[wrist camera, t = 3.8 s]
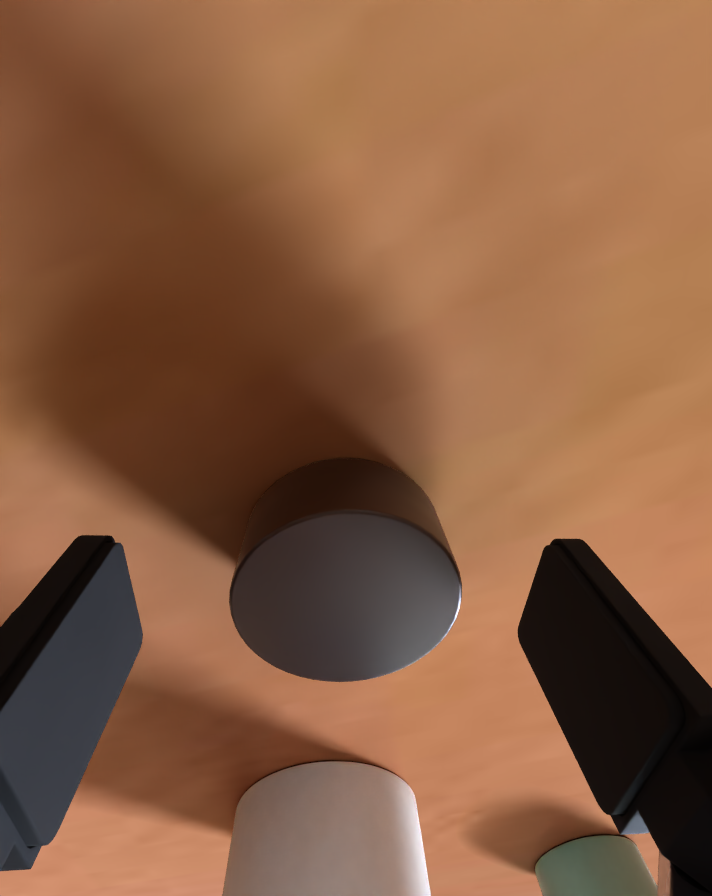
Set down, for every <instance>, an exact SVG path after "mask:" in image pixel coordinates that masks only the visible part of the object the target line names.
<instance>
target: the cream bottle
mask: <svg viewBox="0 0 712 896" xmlns="http://www.w3.org/2000/svg"><path fill="white" fill-rule="evenodd" d="M222 896H431V893H430V887H429V881H428V874H427V868H426V862H425V855H424V849H423V843H422V836H421V830H420V824H419V817H418V811H417V805H416V799H415V796H414V793H413V791H412V790H411V788H410V787H409V785H408V784H407V783H406V782H405V781H404V780H402V779H401V778H400V777H398V776H397V775H395V774H393V773H391V772H389V771H387V770H384V769H382V768H379V767H375V766H372V765H368V764H362V763H356V762H345V761H328V762H316V763H308V764H303V765H298V766H294V767H290V768H287V769H284V770H281V771H278V772H276V773H273V774H271V775H269V776H267V777H265V778H263V779H261V780H260V781H258V782H257V783H255V784H254V785H253V786H252V787H250V788H249V789H248V790H247V791H246V792H245V794H244V795H243V796H242V798H241V799H240V801H239V803H238V805H237V809H236V814H235V820H234V826H233V832H232V838H231V845H230V851H229V857H228V863H227V869H226V876H225V882H224V888H223V894H222Z"/></svg>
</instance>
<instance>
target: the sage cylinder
mask: <svg viewBox="0 0 712 896" xmlns="http://www.w3.org/2000/svg"><path fill="white" fill-rule="evenodd" d="M535 873H536V876H537V879H538V882H539V885H540V888H541V891H542V895H543V896H657V885H656V883H655V881H654V879H653V877H652V875H651V873H650V871H649V869H648V867H647V865H646V863H645V861H644V859H643V857H642V855H641V853H640V852H639V850H638V848H637V846H636V844H635V843H634V842H633V841H631V840H629V839H627V838H624V837H620V836H612V835H599V836H590V837H585V838H580V839H576V840H573V841H570V842H567V843H564V844H562V845H560V846H557V847H555V848H554V849H552V850H550V851H549V852H547V853H546V854H545V855H543V856H542V857H541V858H540V859H539V860H538V862H537V864H536V866H535Z"/></svg>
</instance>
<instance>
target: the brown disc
mask: <svg viewBox="0 0 712 896" xmlns="http://www.w3.org/2000/svg"><path fill="white" fill-rule="evenodd" d="M461 597H462V583H461V577H460V572H459V569H458V567H457V564H456V561H455V559H454V556H453V554H452V551H451V549H450V546H449V544H448V541H447V539H446V536H445V534H444V531H443V529H442V526H441V524H440V521H439V519H438V516H437V514H436V511H435V509H434V506H433V505H432V503H431V501H430V499H429V498H428V496H427V495H426V494H425V493H424V491H423V490H422V489H421V488H420V487H419V486H418V485H417V484H416V483H415V482H414V481H413V480H411V479H410V478H408V477H407V476H406V475H404V474H403V473H401V472H399V471H397V470H395V469H393V468H391V467H388V466H386V465H383V464H380V463H377V462H372V461H368V460H362V459H352V458H347V459H331V460H324V461H320V462H316V463H311V464H309V465H306V466H303V467H301V468H298V469H296V470H294V471H293V472H291V473H289V474H287V475H285V476H284V477H282V478H281V479H280V480H278V481H277V482H275V483H274V484H273V485H272V486H271V487H270V488H269V489H268V490H267V491H266V492H265V493H264V494H263V495H262V497H261V498H260V499H259V501H258V502H257V504H256V506H255V507H254V509H253V511H252V514H251V516H250V519H249V521H248V525H247V529H246V532H245V536H244V539H243V543H242V546H241V550H240V553H239V557H238V560H237V564H236V567H235V571H234V575H233V578H232V582H231V587H230V597H229V604H230V610H231V615H232V618H233V621H234V624H235V627H236V629H237V631H238V633H239V634H240V636H241V638H242V639H243V640H244V642H245V643H246V644H247V646H248V647H249V648H250V649H251V650H252V651H254V652H255V653H256V654H257V655H258V656H259V657H261V658H262V659H263V660H265V661H266V662H268V663H270V664H271V665H273V666H275V667H276V668H279V669H281V670H283V671H285V672H288V673H291V674H294V675H297V676H300V677H304V678H308V679H313V680H320V681H331V682H348V681H359V680H367V679H371V678H376V677H380V676H383V675H387V674H390V673H393V672H395V671H398V670H400V669H402V668H405V667H407V666H408V665H410V664H412V663H414V662H416V661H417V660H419V659H420V658H422V657H423V656H425V655H426V654H428V653H429V652H430V651H431V650H432V649H434V648H435V647H436V646H437V645H438V644H439V643H440V642H441V641H442V639H443V638H444V637H445V636H446V634H447V633H448V632H449V630H450V629H451V627H452V625H453V623H454V621H455V619H456V617H457V614H458V611H459V608H460V603H461Z"/></svg>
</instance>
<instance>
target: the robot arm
mask: <svg viewBox="0 0 712 896" xmlns="http://www.w3.org/2000/svg"><path fill="white" fill-rule="evenodd" d="M142 637H143V633H142V627H141V623H140V619H139V614H138V610H137V606H136V601H135V597H134V593H133V588H132V584H131V579H130V575H129V571H128V566H127V562H126V558H125V553H124V549H123V546H122V544H121V543H115V541H114V539H113V537H112V536H100V535H82V536H79V537H77V538H76V539H75V540H74V541H73V542H72V544H71V545H70V546H69V547H68V548H67V550H66V551H65V552H64V553H63V554H62V556H61V557H60V558H59V559H58V560H57V562H56V563H55V564H54V565H53V566H52V568H51V569H50V570H49V571H48V572H47V574H46V575H45V576H44V577H43V578H42V580H41V581H40V582H39V583H38V584H37V586H36V587H35V588H34V589H33V590H32V592H31V593H30V594H29V595H28V596H27V598H26V599H25V600H24V601H23V602H22V604H21V605H20V606H19V607H18V608H17V609H16V610H15V611H14V612H13V613H12V614H11V615H10V616H9V618H8V619H7V620H6V621H5V622H4V624H3V625H2V626H1V627H0V871H9V870H26V869H31V868H32V865H33V863H34V861H35V859H36V857H37V855H38V853H39V850H40V848H41V846H43V845H48V844H49V843H50V842H51V841H52V840H53V838H54V837H55V835H56V834H57V832H58V830H59V828H60V825H61V823H62V821H63V819H64V817H65V814H66V812H67V810H68V808H69V805H70V803H71V801H72V799H73V797H74V794H75V792H76V790H77V788H78V786H79V783H80V781H81V779H82V777H83V774H84V772H85V770H86V768H87V766H88V763H89V761H90V759H91V757H92V755H93V752H94V750H95V748H96V746H97V743H98V741H99V739H100V737H101V735H102V732H103V730H104V728H105V726H106V723H107V721H108V719H109V717H110V715H111V712H112V710H113V708H114V706H115V704H116V701H117V699H118V697H119V695H120V692H121V690H122V688H123V686H124V684H125V681H126V679H127V677H128V675H129V673H130V670H131V668H132V666H133V664H134V661H135V659H136V657H137V655H138V653H139V650H140V648H141V644H142ZM518 638H519V642H520V644H521V647H522V649H523V651H524V653H525V655H526V657H527V659H528V661H529V663H530V665H531V667H532V669H533V671H534V673H535V675H536V677H537V680H538V682H539V684H540V686H541V688H542V690H543V692H544V694H545V696H546V698H547V700H548V702H549V704H550V706H551V708H552V710H553V712H554V715H555V717H556V719H557V721H558V723H559V725H560V727H561V729H562V731H563V733H564V735H565V737H566V739H567V741H568V743H569V745H570V747H571V750H572V752H573V754H574V756H575V758H576V760H577V762H578V764H579V766H580V768H581V770H582V772H583V774H584V776H585V778H586V780H587V782H588V785H589V787H590V789H591V791H592V793H593V795H594V797H595V799H596V801H597V803H598V805H599V806H600V808H601V809H602V810H603V812H605V813H606V814H608V815H611V817H612V819H613V821H614V823H615V825H616V827H617V829H618V831H619V833H620V835H623V834H640V833H649V832H650V834H651V836H652V838H653V839H654V841H655V843H656V845H657V847H658V849H659V866H658V886H657V896H712V688H711V687H710V686H709V684H708V683H707V682H706V681H705V680H704V679H703V678H702V676H701V675H700V674H699V673H698V672H697V671H696V669H695V668H694V667H693V666H692V665H691V664H690V662H689V661H688V660H687V659H686V658H685V657H684V656H683V654H682V653H681V652H680V651H679V650H678V649H677V647H676V646H675V645H674V644H673V643H672V642H671V641H670V639H669V638H668V637H667V636H666V635H665V634H664V632H663V631H662V630H661V629H660V628H659V627H658V626H657V624H656V623H655V622H654V621H653V620H652V619H651V617H650V616H649V615H648V614H647V613H646V612H645V611H644V609H643V608H642V607H641V606H640V605H639V604H638V602H637V601H636V600H635V599H634V598H633V597H632V595H631V594H630V593H629V592H628V591H627V590H626V589H625V587H624V586H623V585H622V584H621V583H620V582H619V580H618V579H617V578H616V577H615V576H614V575H613V574H612V572H611V571H610V570H609V569H608V568H607V567H606V565H605V564H604V563H603V562H602V561H601V560H600V559H599V557H598V556H597V555H596V554H595V553H594V552H593V550H592V549H591V548H590V547H589V546H588V545H587V543H585V542H584V541H583V540H581V539H554V540H553V541H552V542H551V544H550V545H547V546H546V547H545V548H544V550H543V553H542V556H541V559H540V562H539V565H538V568H537V571H536V574H535V577H534V580H533V583H532V586H531V589H530V592H529V596H528V599H527V602H526V605H525V608H524V611H523V614H522V617H521V620H520V623H519V626H518Z"/></svg>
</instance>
